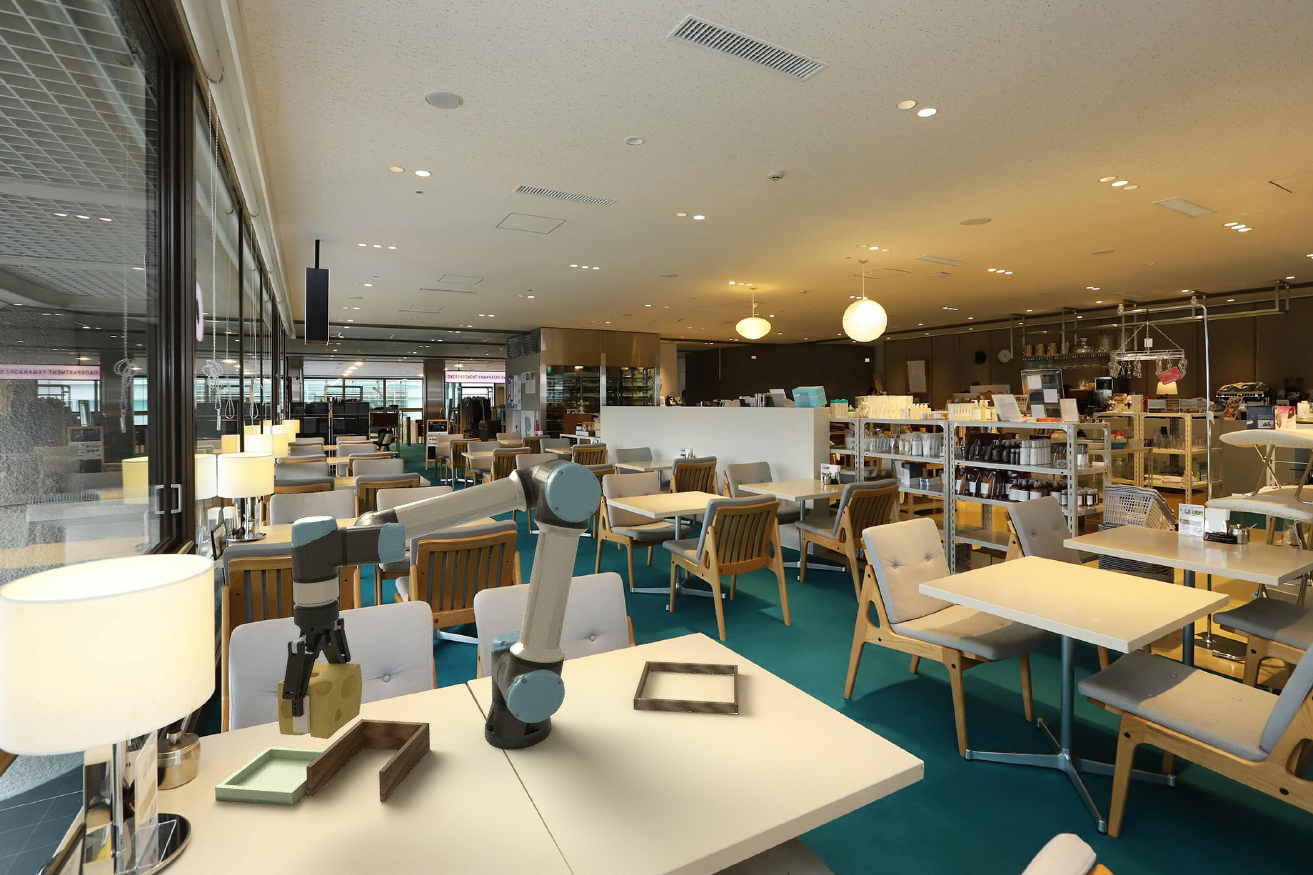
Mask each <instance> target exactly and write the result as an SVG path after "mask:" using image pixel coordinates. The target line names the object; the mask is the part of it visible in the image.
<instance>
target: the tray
mask: <svg viewBox="0 0 1313 875" xmlns="http://www.w3.org/2000/svg"><path fill="white" fill-rule="evenodd" d="M325 750H326V749H318V748H315V749H313V748H299V747H284V746H268V747H266V748H265V749H264V750H262V752H260V753H259V754H257V755H256V756H255V757H253V758H252V759H250V760H249V761H248V762H246V763H245V764H244V765H242V766H241V767H240V768H239V769H238V770H236V771H235V772H234V773H232V774H230V775H229V776H228V777H226V778H225V779H224V780H223V781H221V782H219V783H218V784H217V785H216V786H215V787H214V792H215V794H214V795H215V796H214V797H215V801H228V802H229V801H231V802H240V803H241V802H243V803H256V804H266V805H267V804H269V805H281V806H283V805H285V806H293V805H294V804H296V803H297V802H298V801H299V800H300V799H301V798H302V797H303V796H304V795H306V794H307V771H306V766H308V765H309V764H310V763H311V762H312V761H313V760H314V759H316V758H317V757H318V756H319V755H320V754H321V753H323V752H324V751H325Z"/></svg>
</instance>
